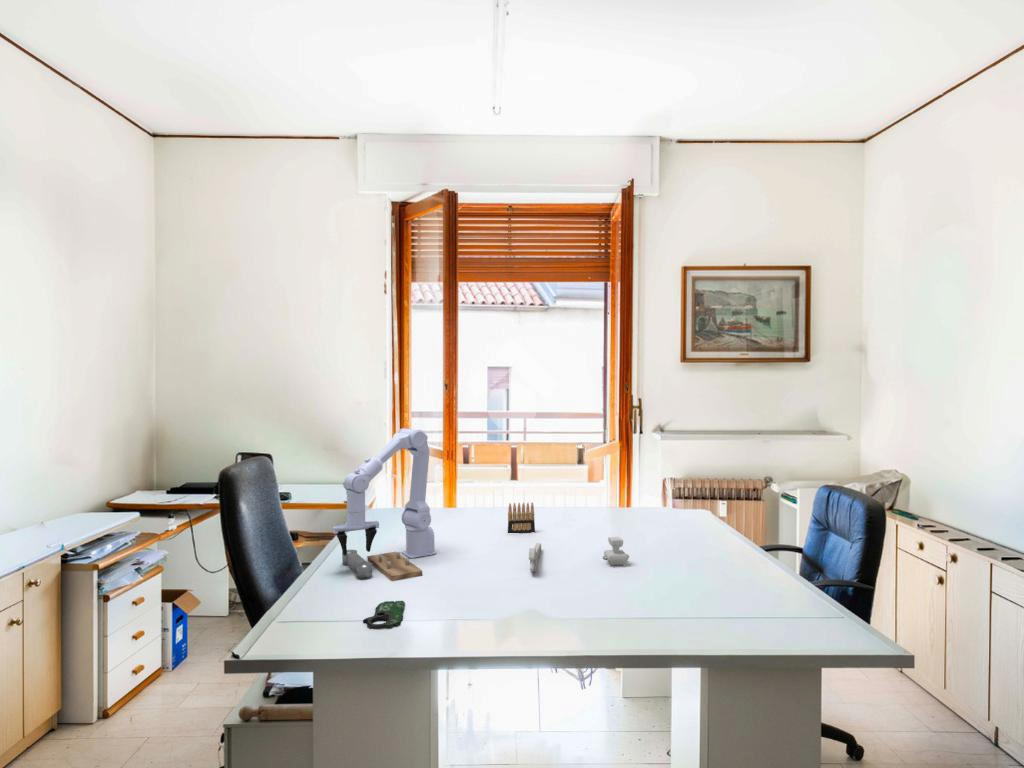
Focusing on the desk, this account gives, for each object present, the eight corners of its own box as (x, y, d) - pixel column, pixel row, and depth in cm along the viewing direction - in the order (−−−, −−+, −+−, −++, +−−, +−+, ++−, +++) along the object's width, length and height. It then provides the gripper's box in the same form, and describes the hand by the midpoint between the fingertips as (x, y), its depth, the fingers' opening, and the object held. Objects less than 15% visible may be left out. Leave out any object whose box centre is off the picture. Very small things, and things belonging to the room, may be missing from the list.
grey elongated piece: (354, 560, 213) (354, 548, 213) (374, 578, 195) (374, 565, 195) (340, 562, 210) (340, 551, 210) (359, 580, 192) (359, 567, 192)
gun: (369, 601, 172) (406, 600, 173) (369, 606, 172) (406, 605, 173) (360, 625, 156) (400, 624, 157) (360, 631, 156) (400, 629, 157)
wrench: (541, 558, 223) (534, 576, 193) (536, 558, 223) (528, 576, 194) (541, 535, 224) (534, 550, 194) (536, 535, 224) (528, 550, 194)
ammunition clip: (534, 531, 249) (534, 501, 248) (535, 532, 247) (534, 502, 246) (507, 532, 247) (507, 502, 247) (508, 533, 246) (507, 503, 245)
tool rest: (395, 555, 217) (395, 545, 217) (422, 575, 197) (422, 564, 197) (367, 560, 212) (367, 550, 212) (391, 581, 192) (391, 569, 192)
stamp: (604, 567, 203) (604, 541, 203) (600, 561, 210) (600, 536, 210) (632, 566, 204) (632, 540, 204) (626, 560, 211) (626, 535, 211)
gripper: (374, 505, 209) (374, 546, 209) (330, 511, 202) (330, 553, 202) (381, 510, 203) (381, 551, 203) (336, 515, 196) (336, 558, 196)
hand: (356, 552), depth 202 cm, fingers open, 7 cm apart
